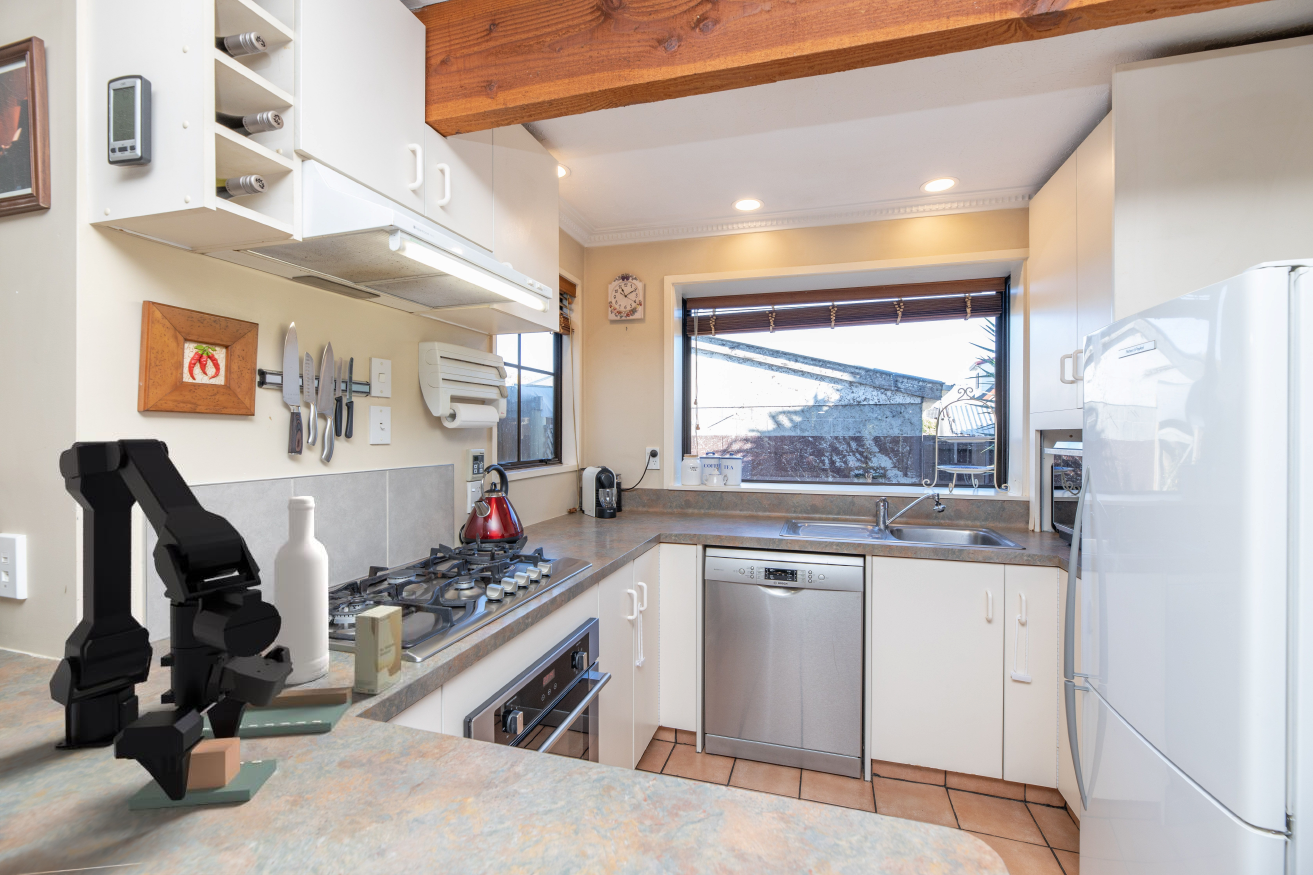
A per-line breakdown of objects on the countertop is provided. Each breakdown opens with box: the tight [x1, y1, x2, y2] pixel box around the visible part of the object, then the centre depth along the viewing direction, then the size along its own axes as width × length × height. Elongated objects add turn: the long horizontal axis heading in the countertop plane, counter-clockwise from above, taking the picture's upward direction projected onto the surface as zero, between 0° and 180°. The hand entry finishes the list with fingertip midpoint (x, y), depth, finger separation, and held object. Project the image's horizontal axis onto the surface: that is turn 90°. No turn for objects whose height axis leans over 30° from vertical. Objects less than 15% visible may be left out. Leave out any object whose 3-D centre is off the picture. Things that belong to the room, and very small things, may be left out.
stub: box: [128, 737, 277, 811], centre depth 67 cm, size 12×6×5 cm, turn 99°
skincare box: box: [353, 604, 403, 695], centre depth 94 cm, size 6×4×12 cm
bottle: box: [273, 495, 330, 686], centre depth 98 cm, size 8×8×30 cm
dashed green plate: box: [200, 686, 353, 740], centre depth 83 cm, size 18×8×3 cm, turn 99°
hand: (203, 774), depth 67 cm, fingers open, 9 cm apart
